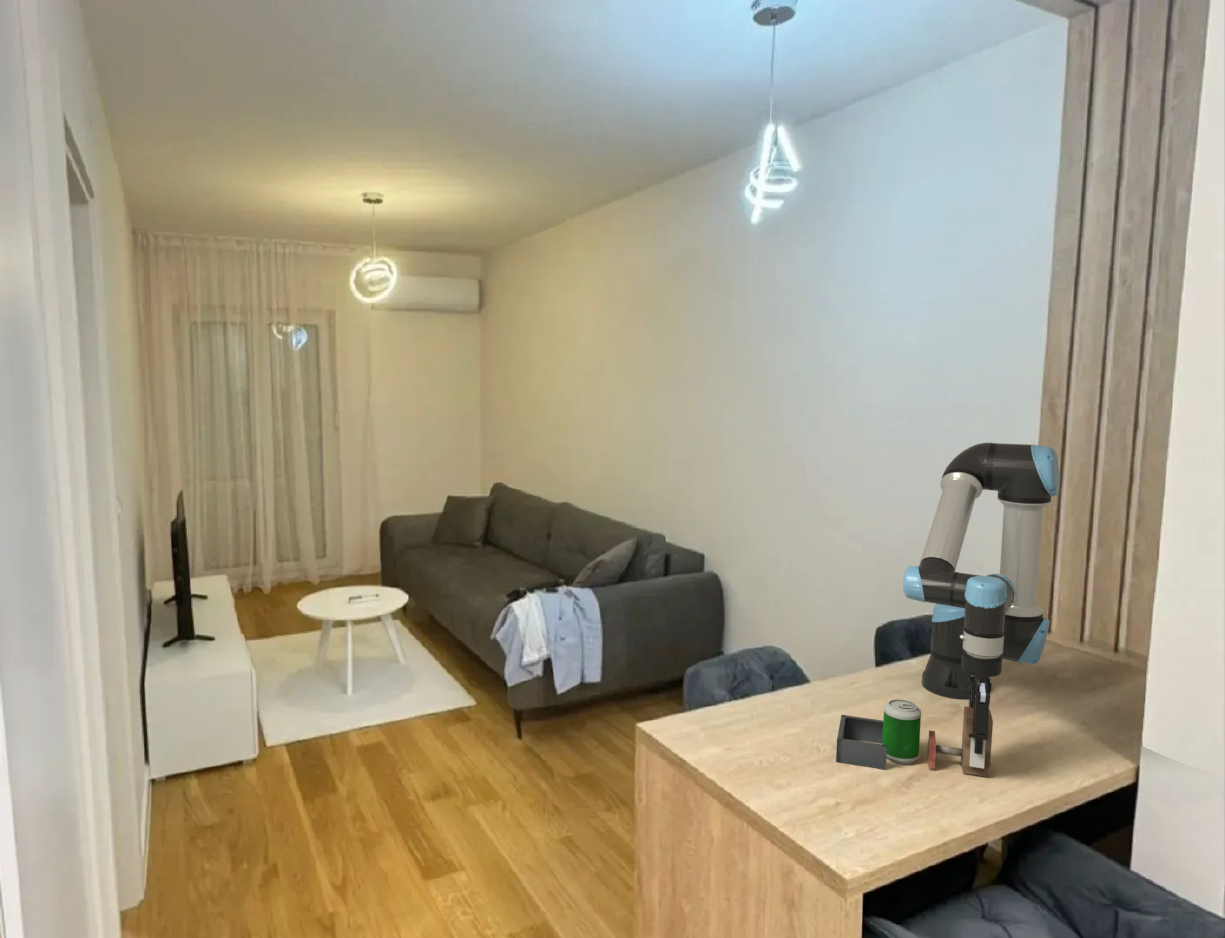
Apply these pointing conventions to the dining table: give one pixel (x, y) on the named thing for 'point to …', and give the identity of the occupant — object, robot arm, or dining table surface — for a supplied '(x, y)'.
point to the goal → (859, 750)
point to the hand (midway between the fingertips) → (975, 758)
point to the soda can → (901, 731)
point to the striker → (963, 746)
